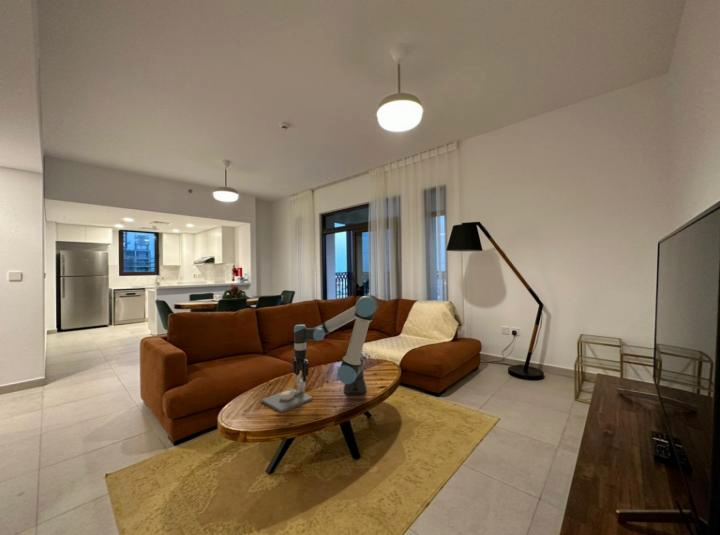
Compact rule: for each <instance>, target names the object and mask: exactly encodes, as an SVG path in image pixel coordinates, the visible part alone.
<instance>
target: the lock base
mask: <svg viewBox="0 0 720 535" xmlns="http://www.w3.org/2000/svg"><path fill="white" fill-rule="evenodd" d="M296 390H297V389H295V388H288V389H287V390H284V391H281V392H278V393H274V394H272V395H269V396H268V397H267V396H266V397H263V398H262V399H261V403H263V404H265V405H266V406H267V407H270V408H271V409H274V410H275V411H277V412H278V413H281V414H283V413H284V412H288V411H289V410H292V409H294V408H296V407H300V406H301V405H303V404H306V403H309V402H311V401H313V400H314V398H313V396H311V395H309V394H307V393H305V392H304V393H298V394H296V395H294V398H293V399H291V400H287V401H283V400H281V399H280V394H281V393H282V392H285V391H296Z"/></svg>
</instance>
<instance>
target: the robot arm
mask: <svg viewBox="0 0 720 535" xmlns="http://www.w3.org/2000/svg"><path fill="white" fill-rule="evenodd" d="M379 306H380V302H379V300H378V298H377V297H376V296H375V295H373V294H366V295H363V296H361V297H359V298H358V300H357V301H356V302H355V305H354V306H352V307H349V308H348V309H347V310H345V311H343V312H341V313H339V314H337V315H336V316H333V317H332V318H331V319H328V320H326V321H324V322H322V323H321V324H319V325H317V326H315V327H307V326H306V324H304V323H303V324H295V325H294V327H293V340H294V341H293V342H294V343H293V345H294V348H293V349H294V351H293V352H294V356H295V357H292V368H293V369H292V370H293V374H295V380H296V386H297V387H298V380H302V387H305V388H306V386H307V385H306V383H307V376H309V365H310V364H309V363H310V360H309V359H307V357H306V356H307V341H323V340H324V338H325V336H326V335H328V334H330V333H331V332H333V331H335V330H337V329H339V328H341V327H342V326H344V325H346V324H348V323H350V322H351V321H354V324H353V329H352V333H351V336H350V340H349V342H348V347H347V351H346V354H345V356H343V357H342V360H341V364H340V366H339V367H338V369H337V373H336V374H337V378H338V381H340V382H341V383H342V384H344V385H343V392H344V393H345V394H346V395H351V396H354V395H355V396H358V395H361V394H362V395H363V394H365V393H367V390H368V389H367V388H368V386H367V384H366V382H365V376H364V375H365V372H364V369H365V368H364V356H363V355H362V352H363V349H364V348H363V347H364V344H365V340H366V336H367V333H368V329H369V326H370V323H371V322H373V320H374V317H375V314H376V312H377V311H378V309H379ZM301 375H302V376H301Z"/></svg>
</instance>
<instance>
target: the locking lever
mask: <svg viewBox="0 0 720 535" xmlns="http://www.w3.org/2000/svg"><path fill="white" fill-rule="evenodd" d="M305 388H306V386H305V387H302V379H301V380H298V386H297V389H295V390H296V391H286V390H284V391H285V392H283V391H281V392H282V393H281V392H280V393H281V394H280V399H281V400H283V401H287V400H291V399H293V398H294V395H296V394H298V393H304V394H305V392H306V391H305Z"/></svg>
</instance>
